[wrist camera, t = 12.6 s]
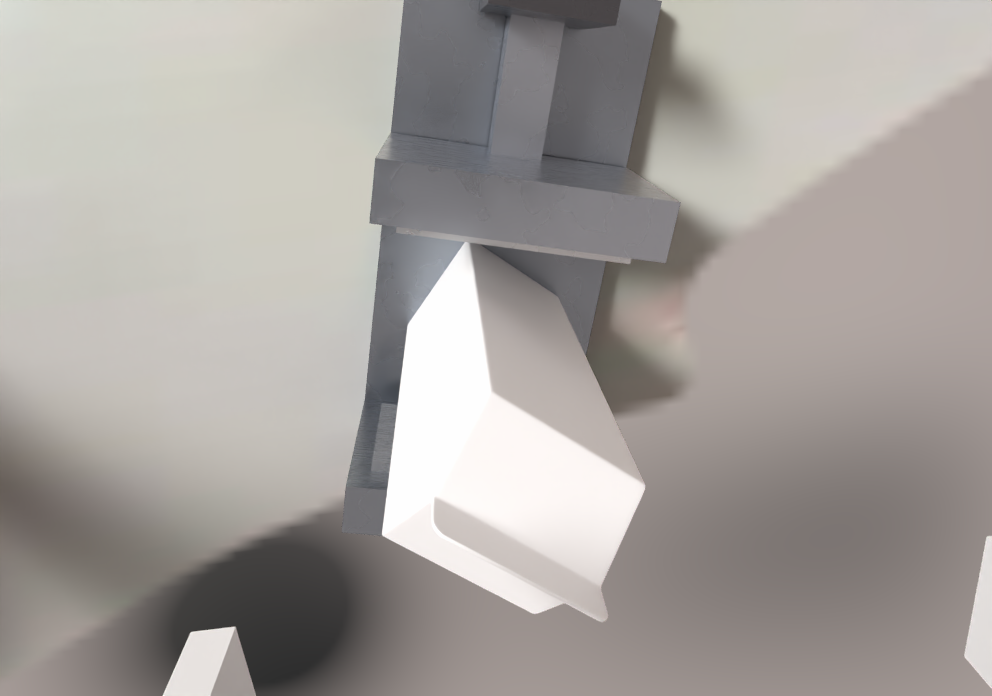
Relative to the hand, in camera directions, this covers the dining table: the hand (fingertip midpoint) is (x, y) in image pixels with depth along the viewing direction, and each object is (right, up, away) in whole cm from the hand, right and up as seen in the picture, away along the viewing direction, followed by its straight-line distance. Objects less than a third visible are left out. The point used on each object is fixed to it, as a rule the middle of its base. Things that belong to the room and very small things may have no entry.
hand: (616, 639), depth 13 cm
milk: (-3, +7, +27) cm, 28 cm away
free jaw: (-1, +17, +23) cm, 29 cm away
